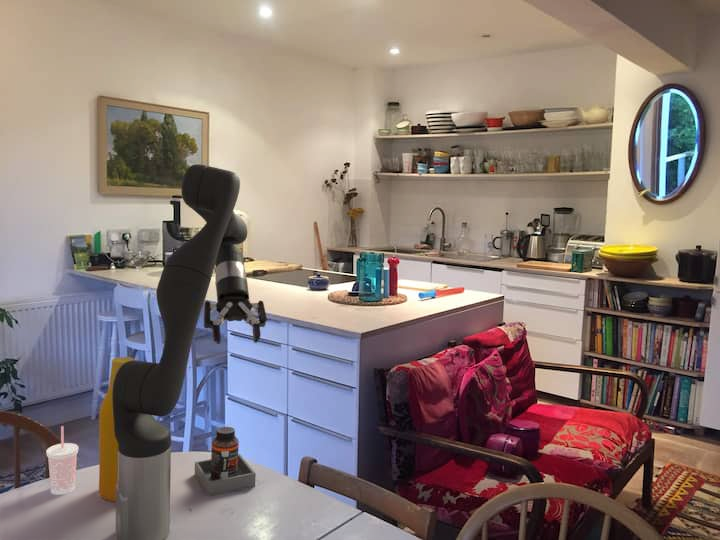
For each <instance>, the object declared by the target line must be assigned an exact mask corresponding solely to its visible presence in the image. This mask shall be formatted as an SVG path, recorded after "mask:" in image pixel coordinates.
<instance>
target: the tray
mask: <svg viewBox="0 0 720 540" xmlns="http://www.w3.org/2000/svg"><path fill="white" fill-rule="evenodd" d="M256 475H257V474H256V472H255V471H254V470H253V468H252V467H251V466H250V465H249V463H248V462H247V461H246V460H245V458H244V457H243V455H241V454H240V453H238V473H237V476H234V477H229V478H224V479H219V480H212V478H211V458H210V459H204V460H199V461H194V476H195V478H196V477H197V478H196V480H197V481H198V482H199V484H200V485H201V487H202V489H203V490H204V492H205V494H206V496H208V497H210V496H215V495H219V494H223V493H229V492H234V491H238V490H242V489H243V490H244V489H247V488H251V487H253V488H254V487H256Z"/></svg>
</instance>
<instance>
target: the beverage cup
mask: <svg viewBox="0 0 720 540" xmlns="http://www.w3.org/2000/svg"><path fill="white" fill-rule="evenodd" d="M64 429H65V428H64V425H61V427H60V440H61V441H60V443H57V444H54V445H51V446H50V447H48V448H47V449H46V457H47V460H48V470H49V471H48V472H49V483H50V492H51V494H52V495H66V494H69V493H71V492H73V491H74V490H75V488H76V474H77V459H78V452H79V445H77V444H76V443H71V442H65V440H64V439H65V436H64V435H65V434H64V431H65V430H64Z"/></svg>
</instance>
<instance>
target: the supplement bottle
mask: <svg viewBox="0 0 720 540" xmlns="http://www.w3.org/2000/svg"><path fill="white" fill-rule="evenodd" d="M235 432H236V430H235V428H234V427H231V426H221V427H218V428H217V429H216V437H214V438H213V439H212V441H211V458H210V459H211V478H212V480H219V479H224V478H229V477H234V476H237V473H238V454H239V444H240V442H239V439H238V437H236V433H235Z"/></svg>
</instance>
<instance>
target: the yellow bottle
mask: <svg viewBox="0 0 720 540" xmlns="http://www.w3.org/2000/svg"><path fill="white" fill-rule="evenodd" d="M132 360H135V359H134V358H133V357H130V356H122V357H121V356H120V357H115V358H113V359H112V361H111V368H110V376H109V384H108V390H107V392H106V394H105V395H104V398H103V400H102V401H101V404H100V409H99V414H98V418H99V419H98V421H99V422H98V423H99V424H98V425H99V426H98V432H99V435H98V438H99V439H98V442H99V444H98V445H99V447H98V448H99V449H98V450H99V451H98V454H99V456H98V457H99V459H98V460H99V461H98V463H99V467H98V469H99V474H98V475H99V477H98V481H99V482H98V490H99V495H100V496H101V498H102V499H104V500H106V501H109V502H116V484H118V442H117V440H116V438H115V434H114V419H113V403H112V391H113V383H114V379H115V376H116V373H117V371H118V370H119V368H120V367H121V366H122V365H123V364H124V363H126V362H128V361H132Z"/></svg>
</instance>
